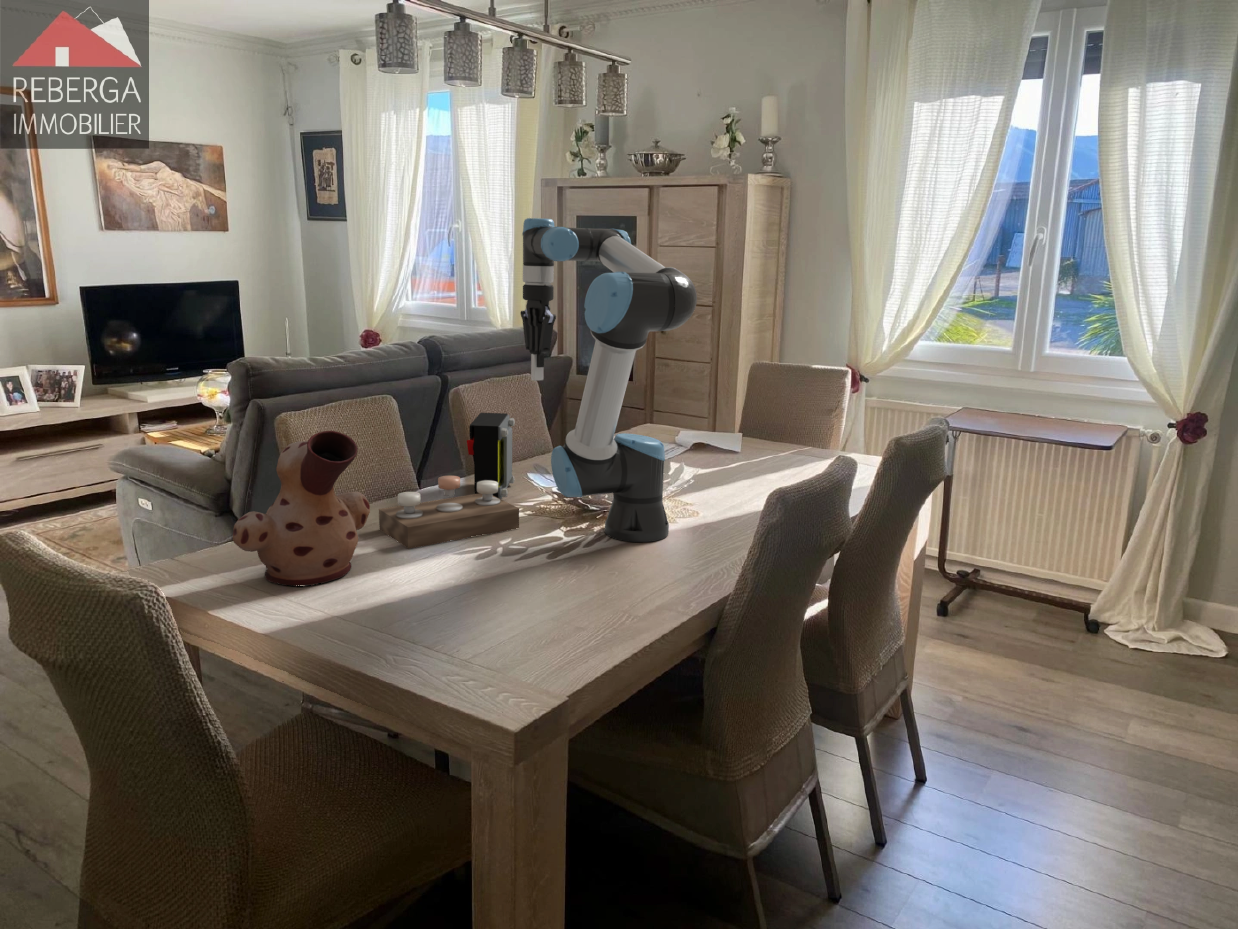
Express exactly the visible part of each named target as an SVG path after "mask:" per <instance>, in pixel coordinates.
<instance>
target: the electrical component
mask: <svg viewBox="0 0 1238 929" xmlns="http://www.w3.org/2000/svg"><path fill="white" fill-rule="evenodd" d="M515 424H516V420H515V418H514V417H510V414H508V413H506V412H505V413H502V412H501V413H500V412H499V413H498V412H480V413H479V414H478V416H476V417H475V418H474V420H473V421H472V422H471V423H470V424H469V428H468V429H469V439H467V440H466V446H467V454H468V456H472V459H473V466H474V467H473V469H474V470H473V471H474V473H473V474H474V476H473V478H474V479H473V480H474V482H473V483H474V491H473V492H474V494H479V493H478V492H477V482H479V481H485V480H491V481H496V482H498V492H497V493H493V496H495V497H497V498H499V499H501V500H503V498H506V497H508V493H509V491H508V488H509V485H510V484H514V483H515V475H513V427H514V426H515Z"/></svg>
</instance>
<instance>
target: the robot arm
mask: <svg viewBox="0 0 1238 929" xmlns="http://www.w3.org/2000/svg"><path fill="white" fill-rule="evenodd" d="M522 226H523V228H522V234H521V236H522V282H523V283H524V284H523V285H522V300H524V301H527V302H526V305H525V307H526V308H525V309H524V310H520V317H521V320H522V328H523V334H524V335H523V336H524V337H523V338H524V346H525V350H527V351H529V353H530V370H531V371H530V380H531V381H533V382H534V381H544V378H545V377H544V376H545V375H544V370H545V367H544V366H545V354H547V353H550V351H551V345H552V337H553V331H554V330H553V329H554V325H555V322H556V319H557V315H556V314H552V312H551V305H550V302H551V301H553V300H554V294H555V293H554V290H555V288H554V285H553V284H552V283H554V280H555V279H554V276H555V274H554V273H555V271H554V267H555V262H566V261H568V262H570V261H572V262H574V261H575V262H598V263H600V264H602V265H603V266H604V267H606V268H607V269H609V270H610V271H612V272H605V273H602V274H600V275H598V276H597V277H595V278H594V279H593V280H592V282H591V283H590V285H589V287H588V289H587V292H586V295H585V299H584V305H583V306H584V309H585V311H584V319H585V323H586V326H587V327H588V328H589V329H590V334H591V336H592V337H593V339H594V340H595V342H594V346H593V350H592V354H591V359H590V363H589V368H588V372H587V377H586V381H585V385H584V389H583V394H582V398H581V402H580V407H579V411H578V414H577V419H576V424H575V428H574V429H571V430H570V431H569V432H568V433H567V435H566V436H565V440H564V445H558V446H556V447H554V448H553V449H552V451H551V455H550V456H551V457H550V465H551V472H552V476H553V477H552V478H553V481H554V482H555V485H556V487H557V489H558V491H559V493H560V494H561V495H562V496H564V497H566V498H582V497H587V496H588V497H590V496H599V495H606V494H607V495H609V494H613V495H612V502H611V505H610V508H609V510H608V514H607V518H606V519H605V521H604V534H605V535H607V536H608V537H610V538H612V539H615V540H618V541H623V542H630V543H649V542H656V541H661V540H663V539H665V538H667V537H668V536H669V534H670V533H669V532H670V531H669V528H670V524H669V521H668V517H667V514H666V510H665V506H664V502H663V498H664V497H663V496H664V474H665V462H666V458H665V457H666V455H665V454H666V453H665V446H664V443H663V442H662V441H661V440H659V439H657V438H655V437H651V436H647V435H641V434H635V433H625V432H623V433H617V434H616V433H615V432H616V429H617V425H618V421H619V417H620V414H621V409H622V406H623V401H624V397H625V394H626V390H627V386H628V384H629V378H630V375H631V371H632V368H633V364H634V361H635V357H636V352H637V351H638V350H640V349H643V347H645V345H646V343H647V340H648V336H649V333H650V332H666V331H671V330H672V331H673V330H675V329H678V328H680V327H682V326H683V325H685V323H687V321H688V320H690V318H691V317H692V316H693V314H694V312H695V310H696V306H697V303H698V294H697V289H696V287H695V284H694V283H693V281H692V280H691V279H690V277H688V276H687V275H686V274H685V273H684V272H682V271H681V270H679V269H677V268H675V267H673V266H664V265H663V264H661V263H660V262H659V261H657V260H655V259H653V258H652V257H651V256H649V255H647V254H646V253H645V252H643V251H642V250H641V249H639V248H638V247H635V245H633V244H632V242H631V237H629V233H628V232H627V231H625V230H623V229H616V228H611V227H610V228H586V227H582V228H581V227H565V226H555V222H554V220H553V219H552V218H541V217H540V218H538V217H536V218H534V217H531V218H530V217H529V218H528V217H527V218H525V219H524V221H523V225H522Z"/></svg>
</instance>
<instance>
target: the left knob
mask: <svg viewBox="0 0 1238 929" xmlns="http://www.w3.org/2000/svg"><path fill="white" fill-rule="evenodd" d="M420 503H421V493H419V492H417V491H405V492H400V493H398V494H397V506H404V513H414V512H415V506H416V505H419V504H420Z"/></svg>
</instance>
